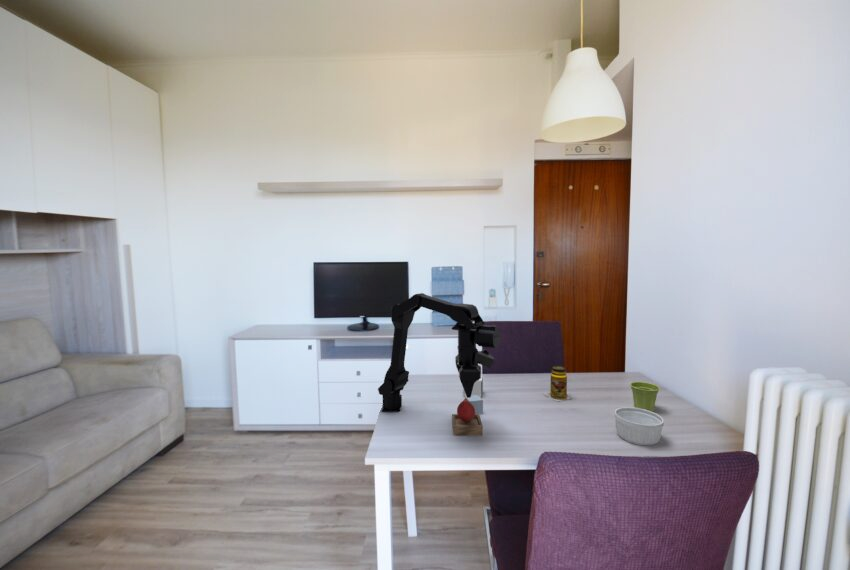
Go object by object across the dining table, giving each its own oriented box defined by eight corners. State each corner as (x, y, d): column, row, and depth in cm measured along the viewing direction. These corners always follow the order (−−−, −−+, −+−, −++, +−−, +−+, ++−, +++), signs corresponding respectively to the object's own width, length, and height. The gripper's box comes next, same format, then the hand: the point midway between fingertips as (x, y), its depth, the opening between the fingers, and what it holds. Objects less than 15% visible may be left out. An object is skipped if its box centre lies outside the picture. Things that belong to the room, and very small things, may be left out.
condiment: (557, 401, 144) (558, 371, 143) (542, 394, 152) (543, 365, 151) (572, 398, 147) (572, 368, 146) (556, 391, 155) (557, 363, 154)
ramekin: (674, 445, 111) (675, 422, 110) (635, 450, 108) (636, 427, 107) (639, 425, 124) (640, 405, 123) (604, 429, 121) (604, 408, 120)
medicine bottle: (481, 397, 149) (481, 368, 148) (463, 396, 150) (463, 367, 149) (482, 391, 156) (482, 363, 155) (465, 390, 157) (465, 362, 156)
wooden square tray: (453, 437, 118) (453, 426, 117) (452, 424, 127) (452, 414, 126) (482, 437, 117) (482, 426, 117) (478, 424, 126) (478, 413, 126)
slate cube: (469, 415, 133) (469, 401, 132) (464, 409, 138) (464, 396, 137) (482, 413, 134) (482, 399, 134) (477, 408, 139) (477, 394, 139)
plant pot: (627, 402, 143) (627, 380, 142) (655, 405, 139) (656, 383, 139) (631, 412, 134) (632, 388, 133) (662, 416, 131) (663, 391, 130)
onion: (463, 427, 118) (461, 402, 118) (454, 422, 123) (452, 397, 123) (479, 423, 120) (477, 398, 120) (469, 418, 126) (467, 394, 126)
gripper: (497, 351, 110) (497, 403, 112) (487, 337, 129) (487, 382, 130) (459, 351, 110) (460, 403, 112) (455, 338, 129) (455, 382, 130)
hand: (467, 392), depth 121 cm, fingers open, 9 cm apart
